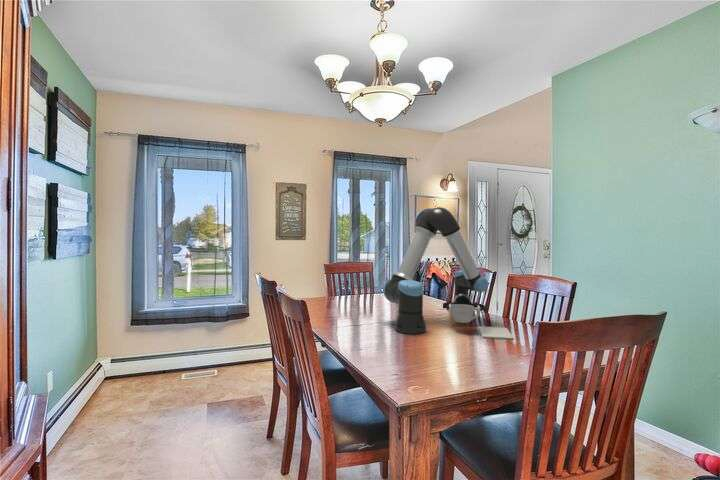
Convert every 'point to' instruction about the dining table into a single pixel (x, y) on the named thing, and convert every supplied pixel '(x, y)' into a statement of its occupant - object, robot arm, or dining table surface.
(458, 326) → the dining table surface
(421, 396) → the dining table surface
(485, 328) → the placemat
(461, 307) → the teacup
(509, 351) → the dining table surface
